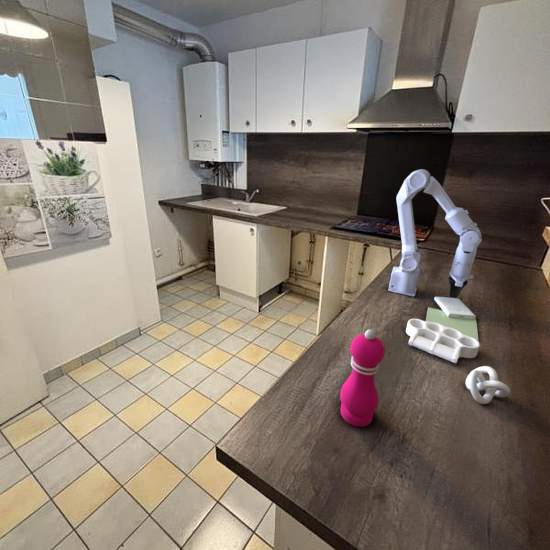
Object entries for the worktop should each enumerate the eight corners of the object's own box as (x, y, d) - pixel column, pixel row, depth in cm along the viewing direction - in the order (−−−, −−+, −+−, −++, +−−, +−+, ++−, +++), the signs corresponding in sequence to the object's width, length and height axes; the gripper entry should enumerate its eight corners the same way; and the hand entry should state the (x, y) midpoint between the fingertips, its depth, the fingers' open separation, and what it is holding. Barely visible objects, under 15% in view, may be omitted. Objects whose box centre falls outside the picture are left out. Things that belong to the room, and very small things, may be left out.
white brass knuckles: (395, 342, 81) (412, 322, 91) (469, 373, 70) (479, 346, 80) (397, 332, 80) (414, 312, 90) (473, 362, 69) (483, 336, 79)
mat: (424, 326, 89) (424, 326, 89) (428, 307, 100) (428, 307, 100) (478, 341, 83) (478, 340, 83) (475, 319, 94) (476, 318, 94)
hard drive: (458, 302, 104) (474, 320, 93) (433, 300, 105) (447, 317, 94) (459, 298, 104) (476, 315, 92) (434, 296, 105) (449, 312, 93)
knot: (486, 414, 59) (495, 393, 57) (450, 387, 66) (457, 367, 64) (509, 403, 62) (518, 382, 60) (472, 378, 69) (480, 358, 66)
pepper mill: (333, 400, 62) (344, 319, 54) (366, 398, 62) (381, 318, 55) (344, 430, 55) (357, 343, 47) (380, 428, 56) (400, 342, 48)
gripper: (478, 271, 92) (466, 308, 97) (475, 258, 103) (465, 292, 108) (452, 266, 95) (442, 303, 100) (453, 254, 106) (444, 288, 112)
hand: (452, 297), depth 105 cm, fingers closed, pressing on hard drive
